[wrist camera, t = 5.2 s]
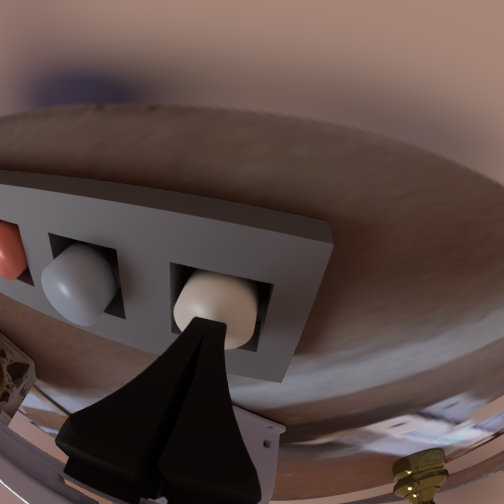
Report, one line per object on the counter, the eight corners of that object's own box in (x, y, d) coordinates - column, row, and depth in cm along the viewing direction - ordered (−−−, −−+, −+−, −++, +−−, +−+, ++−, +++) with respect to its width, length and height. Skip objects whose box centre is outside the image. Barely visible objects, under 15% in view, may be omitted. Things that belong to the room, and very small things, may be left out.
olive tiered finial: (388, 460, 26) (391, 530, 18) (445, 441, 24) (455, 511, 15) (394, 471, 29) (397, 530, 21) (443, 456, 26) (451, 515, 18)
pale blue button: (113, 251, 13) (90, 276, 11) (121, 308, 15) (104, 334, 13) (57, 237, 13) (34, 258, 11) (70, 292, 15) (51, 313, 13)
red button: (29, 219, 14) (8, 235, 12) (41, 268, 16) (23, 286, 14) (-2, 211, 14) (-22, 225, 12) (10, 257, 16) (-7, 272, 14)
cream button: (265, 271, 13) (261, 300, 12) (253, 327, 15) (247, 356, 13) (188, 255, 13) (173, 281, 12) (186, 312, 15) (174, 339, 14)
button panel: (329, 221, 12) (334, 244, 11) (283, 356, 17) (281, 382, 15) (-16, 168, 13) (-36, 179, 11) (8, 275, 18) (-6, 289, 16)
